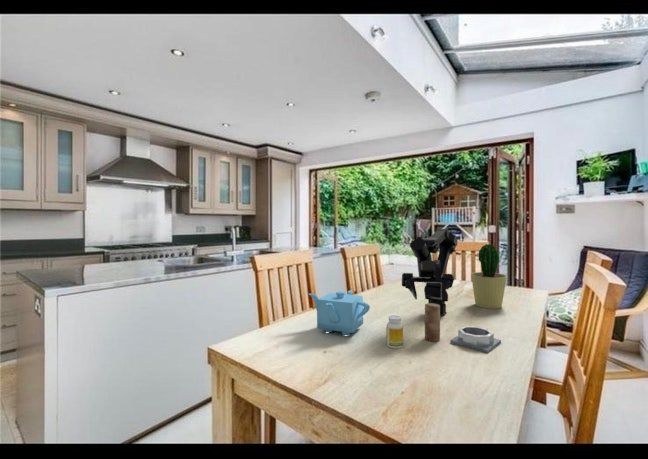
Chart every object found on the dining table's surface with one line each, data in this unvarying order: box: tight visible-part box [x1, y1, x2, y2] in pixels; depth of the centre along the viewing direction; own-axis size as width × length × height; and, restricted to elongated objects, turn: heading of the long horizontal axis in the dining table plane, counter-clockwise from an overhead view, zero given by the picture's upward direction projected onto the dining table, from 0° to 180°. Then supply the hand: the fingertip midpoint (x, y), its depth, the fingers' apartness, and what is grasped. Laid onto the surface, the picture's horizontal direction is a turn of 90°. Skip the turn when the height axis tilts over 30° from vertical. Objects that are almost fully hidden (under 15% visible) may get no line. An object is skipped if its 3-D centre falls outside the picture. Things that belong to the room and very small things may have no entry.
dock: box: [449, 325, 502, 354], centre depth 113 cm, size 12×12×4 cm
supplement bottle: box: [385, 315, 404, 349], centre depth 111 cm, size 5×5×10 cm
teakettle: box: [308, 289, 371, 335], centre depth 127 cm, size 19×19×15 cm
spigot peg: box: [424, 303, 441, 343], centre depth 116 cm, size 5×5×12 cm
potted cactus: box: [470, 243, 508, 310], centre depth 160 cm, size 15×15×30 cm
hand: (429, 299), depth 123 cm, fingers open, 9 cm apart
